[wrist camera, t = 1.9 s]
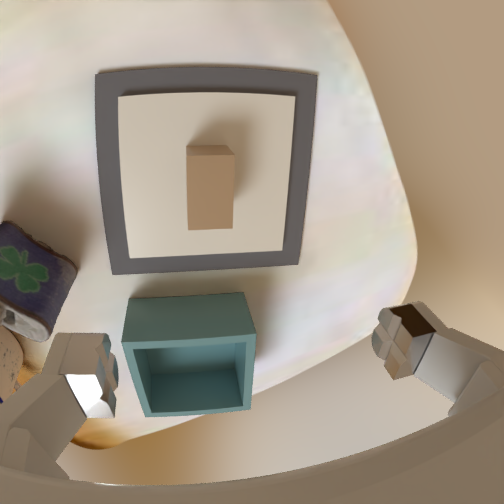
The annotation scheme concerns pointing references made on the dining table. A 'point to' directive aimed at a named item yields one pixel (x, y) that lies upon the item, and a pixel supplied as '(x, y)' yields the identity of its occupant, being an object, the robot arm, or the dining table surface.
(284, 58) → the dining table surface
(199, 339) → the teal open box
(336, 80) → the dining table surface
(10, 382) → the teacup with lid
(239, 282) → the dining table surface
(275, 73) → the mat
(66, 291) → the flask
